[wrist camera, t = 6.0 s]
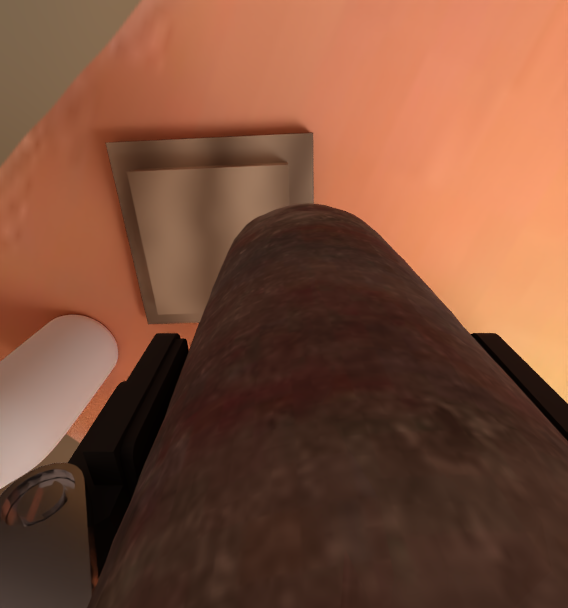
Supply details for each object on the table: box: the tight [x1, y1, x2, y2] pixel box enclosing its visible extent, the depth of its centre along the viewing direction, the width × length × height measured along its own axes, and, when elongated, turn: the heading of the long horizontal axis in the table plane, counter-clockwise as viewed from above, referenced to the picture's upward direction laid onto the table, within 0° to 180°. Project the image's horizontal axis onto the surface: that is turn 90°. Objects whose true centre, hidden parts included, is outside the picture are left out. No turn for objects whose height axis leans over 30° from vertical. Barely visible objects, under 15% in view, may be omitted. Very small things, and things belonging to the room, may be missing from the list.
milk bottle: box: [0, 315, 118, 489], centre depth 29 cm, size 8×8×20 cm
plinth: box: [106, 133, 314, 324], centre depth 31 cm, size 16×16×4 cm
